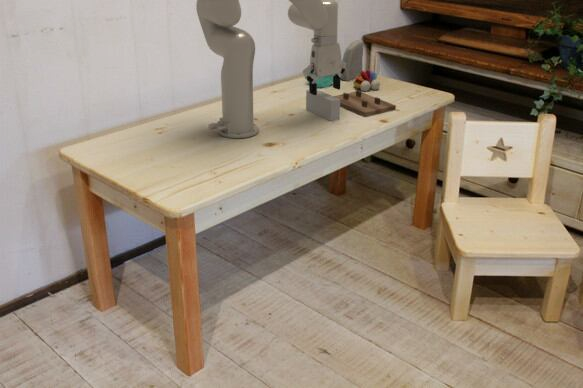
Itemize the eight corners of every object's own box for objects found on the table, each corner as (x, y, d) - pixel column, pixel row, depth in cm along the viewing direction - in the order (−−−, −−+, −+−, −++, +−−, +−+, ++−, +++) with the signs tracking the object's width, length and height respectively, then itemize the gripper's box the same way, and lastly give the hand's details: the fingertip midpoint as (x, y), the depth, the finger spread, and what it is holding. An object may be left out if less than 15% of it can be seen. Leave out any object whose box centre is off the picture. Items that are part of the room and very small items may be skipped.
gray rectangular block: (330, 121, 207) (331, 100, 203) (306, 109, 217) (306, 90, 214) (339, 119, 208) (340, 99, 205) (314, 108, 219) (314, 88, 216)
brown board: (364, 117, 210) (365, 107, 209) (327, 101, 225) (328, 91, 223) (395, 109, 218) (396, 99, 216) (358, 94, 232) (358, 85, 231)
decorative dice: (320, 80, 248) (321, 60, 245) (334, 85, 243) (335, 65, 239) (305, 84, 244) (305, 63, 240) (319, 89, 238) (319, 68, 235)
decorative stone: (349, 82, 247) (351, 44, 240) (336, 79, 250) (338, 41, 243) (364, 76, 255) (366, 39, 248) (351, 73, 258) (353, 36, 251)
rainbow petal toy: (349, 87, 242) (350, 68, 238) (371, 84, 245) (372, 65, 242) (360, 93, 235) (362, 74, 231) (383, 90, 238) (384, 71, 235)
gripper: (310, 46, 195) (310, 99, 202) (353, 37, 203) (352, 89, 211) (296, 41, 200) (297, 93, 208) (339, 33, 209) (338, 83, 217)
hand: (324, 91), depth 209 cm, fingers open, 9 cm apart
